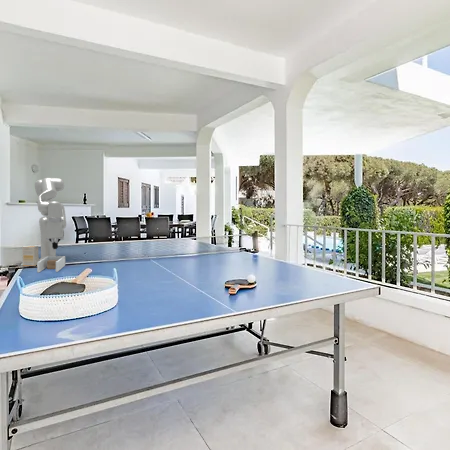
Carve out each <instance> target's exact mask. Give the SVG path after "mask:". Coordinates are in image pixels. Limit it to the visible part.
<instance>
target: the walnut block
mask: <svg viewBox="0 0 450 450" xmlns="http://www.w3.org/2000/svg"><path fill="white" fill-rule="evenodd" d="M56 261H58V260H48V261H47V268H46V270H56Z"/></svg>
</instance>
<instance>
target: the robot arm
mask: <svg viewBox="0 0 450 450" xmlns="http://www.w3.org/2000/svg"><path fill="white" fill-rule="evenodd" d="M64 188H65V182H64V180H63V179H62V178H59V177H44V178H42V179H37V180H36V181H35V182H34V189H35V193H36V195H37V200H36V204H37V210H38V212H39V213H40V214H41V215H42V216H41V217H40V218H39V220H38V225H39V231H40V258H39V261H40V260H42V259H44V258H45V257H47V256H57V254H56V253H57V251H56V250H57V249H58V248H59V242H60V241H63V240H65V237H64V236H65V231H64V230H65V228H66V227H67V219H66V218H67V217H66V210H65V206H64V204H63V203H61V202H60V201H53V199H54V198H56V197H57V194H58V193H57V192H61V191H63V190H64Z"/></svg>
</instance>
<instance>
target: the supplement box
mask: <svg viewBox="0 0 450 450" xmlns="http://www.w3.org/2000/svg"><path fill="white" fill-rule="evenodd" d="M21 249H22V253H21V254H22V255H21V256H22V267H23V266H36V265H37V262H39V246H38V245H25V246H22V247H21ZM36 267H37V266H36Z"/></svg>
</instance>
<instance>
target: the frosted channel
mask: <svg viewBox="0 0 450 450" xmlns="http://www.w3.org/2000/svg"><path fill="white" fill-rule="evenodd" d="M48 260H58V261H56V269H55V272H56V273H58V272H59V271H60V270H61V269H63V268H64V267H65V266H66V255H65V256H64V255H63V256H61V255H59V256H58V255H56V256H47V257H45V258H44V259H42V260H40V261H39V262H37V266H36V267H37V268H36V269H37V270H36V272H37V274H38V273H41V272H42V271H43V270H44V269H47V261H48Z"/></svg>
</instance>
